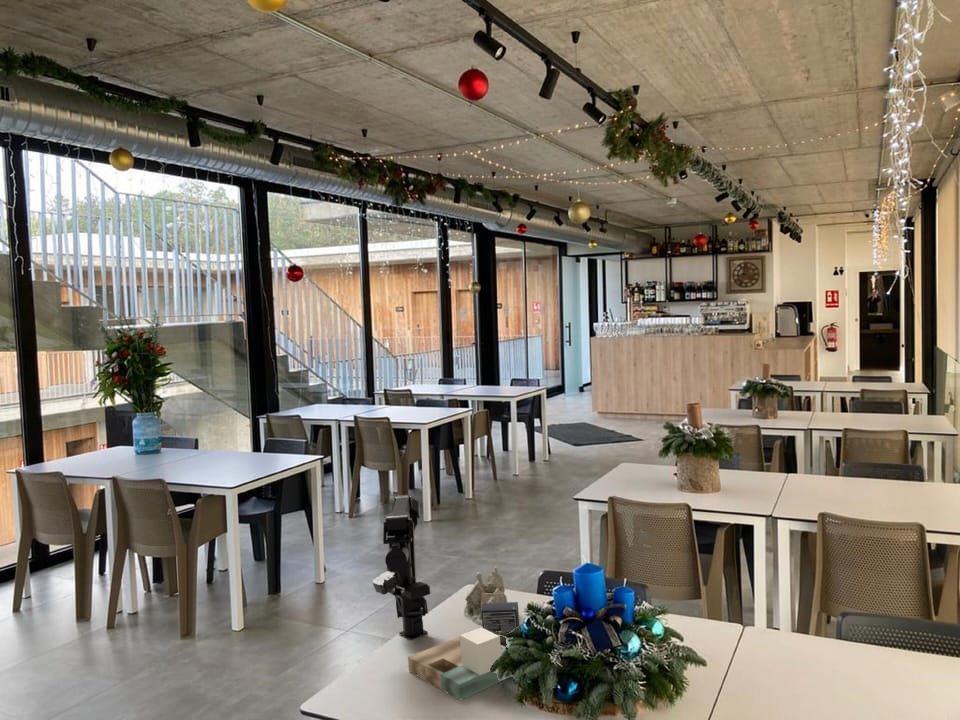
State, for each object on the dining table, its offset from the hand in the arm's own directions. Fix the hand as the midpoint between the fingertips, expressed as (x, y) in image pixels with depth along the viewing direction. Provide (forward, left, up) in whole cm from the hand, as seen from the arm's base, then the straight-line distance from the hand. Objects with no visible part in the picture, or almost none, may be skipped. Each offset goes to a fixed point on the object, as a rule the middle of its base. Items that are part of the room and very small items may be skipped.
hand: (404, 615), depth 211 cm
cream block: (+24, +7, -9) cm, 27 cm away
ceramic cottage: (-9, +36, -14) cm, 39 cm away
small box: (+9, +27, -13) cm, 31 cm away
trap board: (+16, +8, -13) cm, 22 cm away
